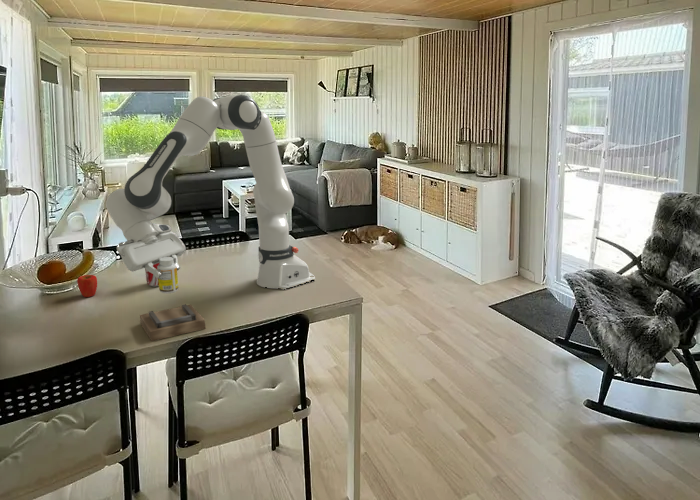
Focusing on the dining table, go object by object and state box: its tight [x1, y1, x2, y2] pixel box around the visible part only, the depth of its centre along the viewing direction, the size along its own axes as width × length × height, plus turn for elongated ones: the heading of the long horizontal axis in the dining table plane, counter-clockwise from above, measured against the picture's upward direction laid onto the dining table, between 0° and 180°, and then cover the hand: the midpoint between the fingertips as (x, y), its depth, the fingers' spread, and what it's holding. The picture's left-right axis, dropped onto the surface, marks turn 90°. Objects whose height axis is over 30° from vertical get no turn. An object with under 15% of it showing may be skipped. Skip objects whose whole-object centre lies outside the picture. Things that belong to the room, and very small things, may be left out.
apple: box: [76, 274, 98, 298], centre depth 184 cm, size 6×6×8 cm
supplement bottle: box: [157, 257, 179, 294], centre depth 157 cm, size 6×6×10 cm
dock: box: [139, 303, 206, 342], centre depth 162 cm, size 16×14×4 cm
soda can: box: [144, 263, 160, 288], centre depth 195 cm, size 7×7×12 cm
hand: (169, 272), depth 157 cm, fingers closed on supplement bottle, 6 cm apart
